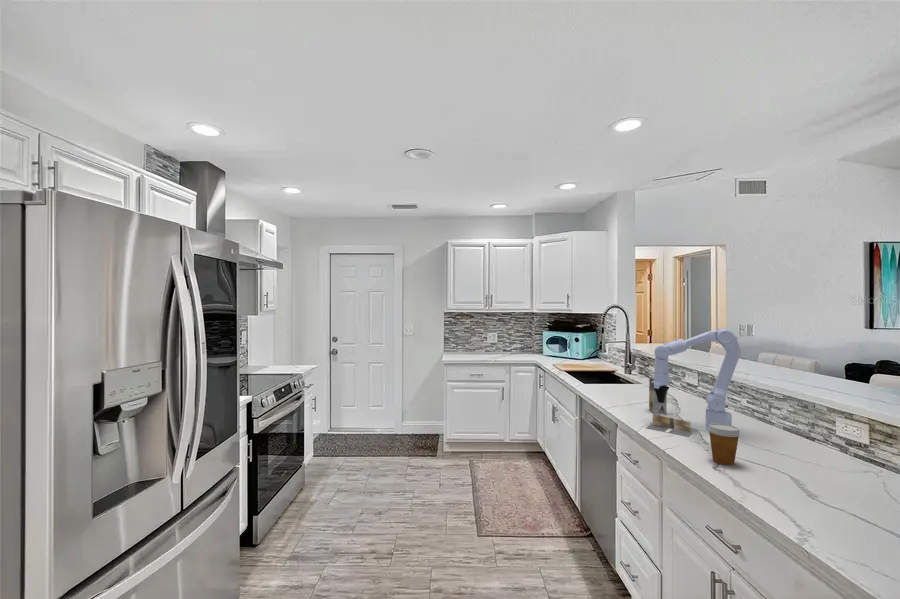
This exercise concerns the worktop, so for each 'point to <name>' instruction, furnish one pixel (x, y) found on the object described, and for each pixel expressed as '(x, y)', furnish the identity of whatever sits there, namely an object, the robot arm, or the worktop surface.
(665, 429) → the card
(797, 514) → the worktop surface
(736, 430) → the disposable coffee cup
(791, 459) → the worktop surface
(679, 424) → the block
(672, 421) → the hinged panel
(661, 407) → the coffee box
